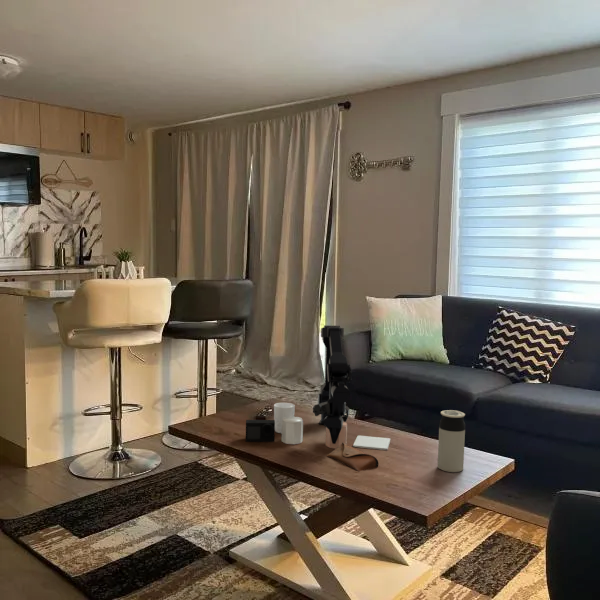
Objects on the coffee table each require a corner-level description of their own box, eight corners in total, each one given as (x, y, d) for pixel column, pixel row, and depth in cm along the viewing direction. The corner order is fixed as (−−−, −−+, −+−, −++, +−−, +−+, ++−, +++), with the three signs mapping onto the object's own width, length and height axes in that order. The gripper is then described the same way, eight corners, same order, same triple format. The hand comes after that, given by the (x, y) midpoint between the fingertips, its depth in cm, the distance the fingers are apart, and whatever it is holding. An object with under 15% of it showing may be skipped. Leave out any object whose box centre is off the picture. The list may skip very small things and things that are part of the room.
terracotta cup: (328, 441, 218) (328, 419, 218) (347, 443, 217) (348, 421, 216) (324, 447, 211) (324, 424, 211) (344, 449, 210) (345, 426, 209)
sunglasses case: (323, 455, 203) (331, 436, 205) (337, 462, 207) (345, 444, 208) (359, 472, 188) (367, 452, 190) (373, 479, 192) (381, 459, 194)
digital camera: (245, 443, 215) (245, 423, 214) (245, 438, 220) (246, 419, 219) (274, 443, 215) (274, 423, 215) (274, 438, 221) (274, 419, 220)
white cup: (285, 435, 224) (286, 408, 223) (269, 431, 229) (269, 405, 228) (298, 430, 231) (298, 404, 230) (282, 426, 235) (282, 401, 234)
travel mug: (438, 472, 190) (441, 415, 189) (436, 463, 198) (438, 409, 197) (464, 473, 189) (467, 417, 188) (461, 465, 197) (464, 410, 196)
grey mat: (357, 437, 224) (357, 435, 224) (390, 440, 222) (390, 438, 222) (353, 446, 213) (353, 445, 213) (387, 450, 210) (387, 448, 210)
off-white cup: (285, 437, 222) (285, 415, 221) (303, 439, 220) (304, 417, 220) (280, 443, 215) (280, 420, 214) (299, 444, 213) (299, 422, 213)
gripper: (320, 388, 224) (319, 430, 225) (309, 400, 205) (308, 445, 207) (350, 391, 221) (348, 433, 222) (341, 403, 203) (340, 448, 204)
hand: (336, 439), depth 214 cm, fingers open, 9 cm apart
